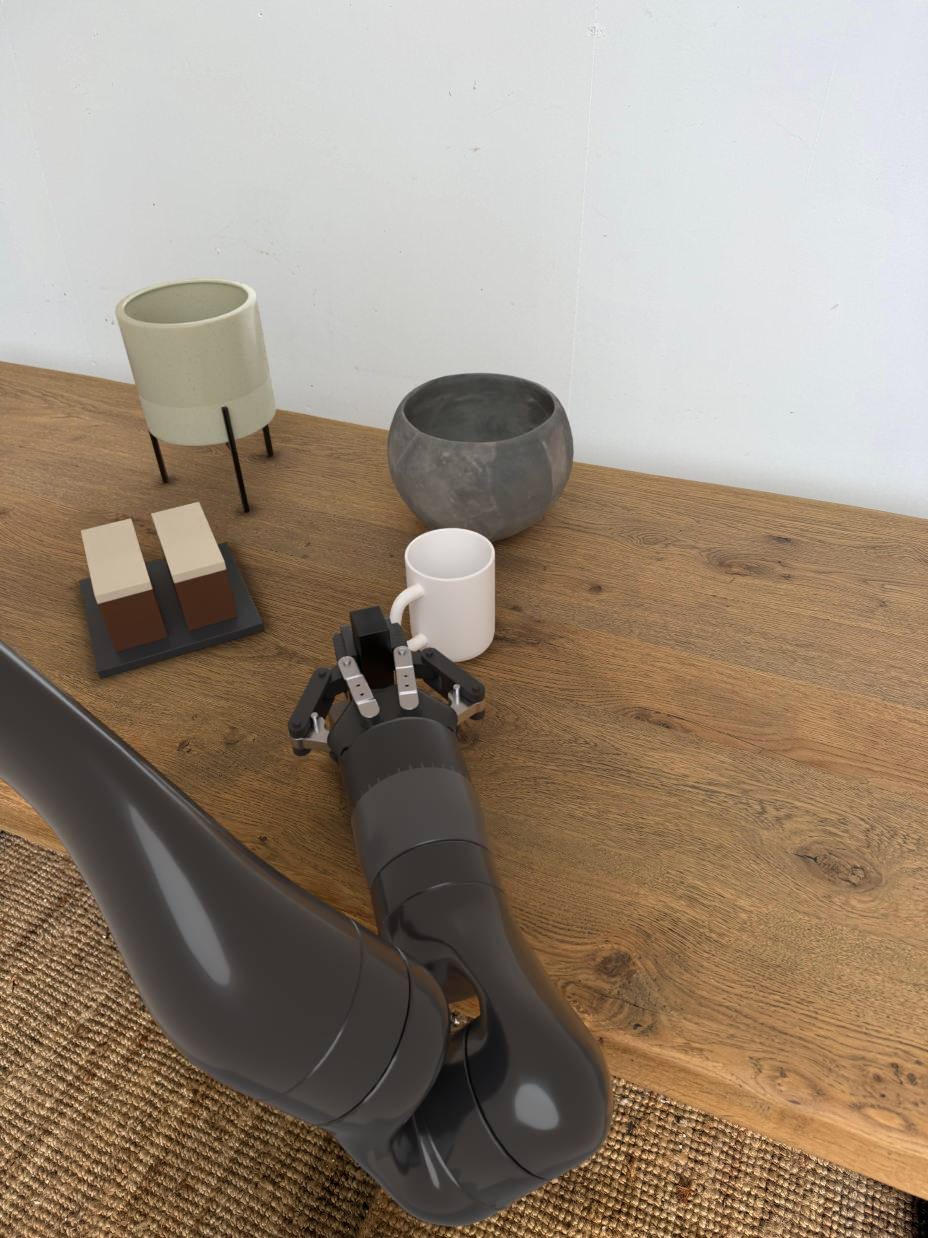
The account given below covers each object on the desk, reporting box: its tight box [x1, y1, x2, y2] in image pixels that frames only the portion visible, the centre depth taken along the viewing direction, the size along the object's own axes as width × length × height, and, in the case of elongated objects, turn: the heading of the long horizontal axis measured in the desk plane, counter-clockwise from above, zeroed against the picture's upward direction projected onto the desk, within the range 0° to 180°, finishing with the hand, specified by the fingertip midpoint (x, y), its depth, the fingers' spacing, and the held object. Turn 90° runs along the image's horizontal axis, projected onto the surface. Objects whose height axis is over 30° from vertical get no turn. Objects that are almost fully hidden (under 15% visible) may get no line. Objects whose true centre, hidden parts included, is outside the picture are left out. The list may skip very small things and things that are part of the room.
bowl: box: [386, 372, 575, 543], centre depth 97 cm, size 20×20×15 cm
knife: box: [349, 605, 396, 689], centre depth 64 cm, size 2×6×16 cm, turn 18°
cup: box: [389, 528, 496, 663], centre depth 81 cm, size 8×12×10 cm
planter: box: [114, 277, 277, 514], centre depth 103 cm, size 15×16×23 cm
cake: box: [79, 501, 265, 680], centre depth 88 cm, size 16×16×8 cm
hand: (365, 631), depth 63 cm, fingers closed on knife, 2 cm apart
